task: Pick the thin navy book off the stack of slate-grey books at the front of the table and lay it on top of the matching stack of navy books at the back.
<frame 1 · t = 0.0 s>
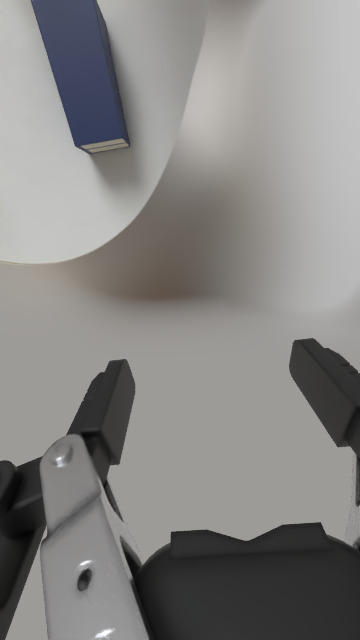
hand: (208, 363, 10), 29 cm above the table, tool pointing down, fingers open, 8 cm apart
navy stack: (95, 95, 26), on the table
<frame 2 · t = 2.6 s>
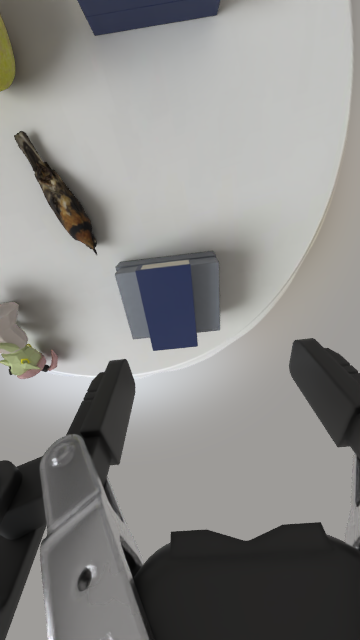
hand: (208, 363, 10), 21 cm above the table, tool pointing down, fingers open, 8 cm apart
bird model: (66, 200, 25), on the table
navy book: (170, 304, 27), point 5 cm above the table, touching grey stack
grey stack: (170, 290, 31), on the table
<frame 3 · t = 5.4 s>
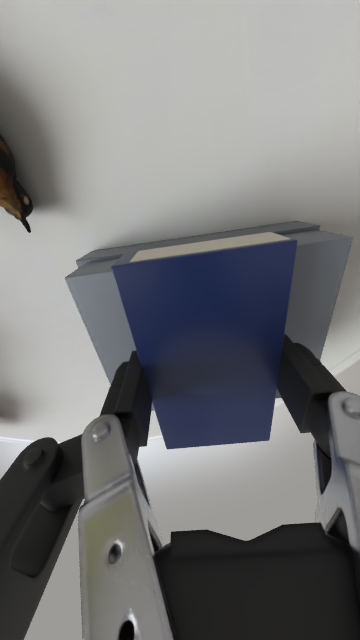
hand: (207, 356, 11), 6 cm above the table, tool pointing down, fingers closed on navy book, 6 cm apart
navy book: (206, 347, 11), point 5 cm above the table, touching grey stack, gripper
grey stack: (198, 306, 15), on the table
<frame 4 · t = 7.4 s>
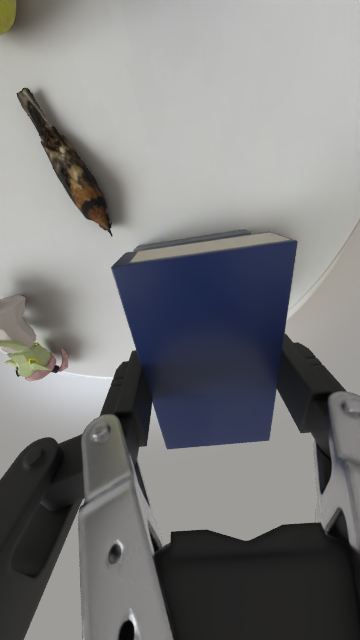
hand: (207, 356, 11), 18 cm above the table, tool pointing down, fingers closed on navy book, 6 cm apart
bird model: (77, 173, 22), on the table
navy book: (206, 347, 11), point 17 cm above the table, touching gripper
grey stack: (194, 277, 27), on the table
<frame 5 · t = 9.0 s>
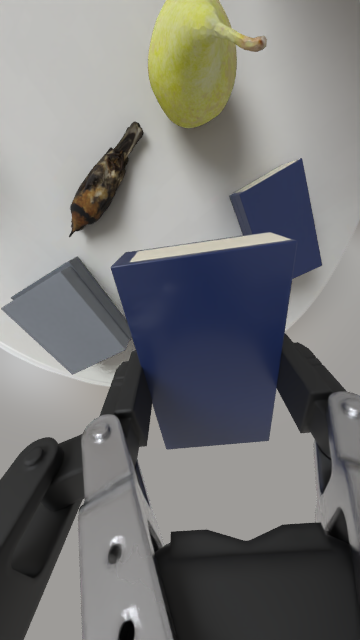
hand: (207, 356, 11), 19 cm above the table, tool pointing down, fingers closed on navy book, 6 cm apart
bird model: (105, 185, 23), on the table
navy book: (205, 347, 11), point 19 cm above the table, touching gripper
grey stack: (81, 311, 31), on the table
navy stack: (268, 228, 25), on the table
fruit: (192, 93, 20), on the table
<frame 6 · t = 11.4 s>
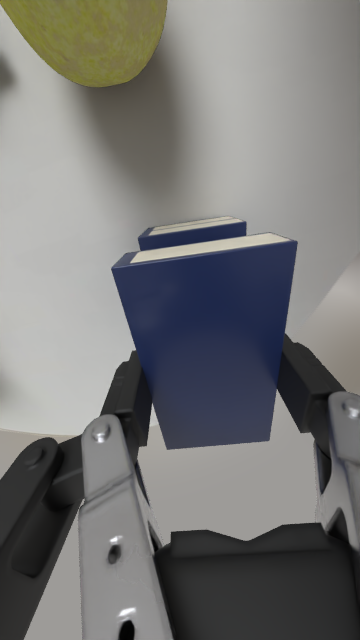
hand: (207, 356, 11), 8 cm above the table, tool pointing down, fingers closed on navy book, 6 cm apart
navy book: (206, 348, 11), point 8 cm above the table, touching gripper
navy stack: (195, 291, 18), on the table
fruit: (108, 28, 11), on the table
when the fingers open (5 cm above the table, at t = 13.0 s): navy book stays where it is, resting on navy stack.
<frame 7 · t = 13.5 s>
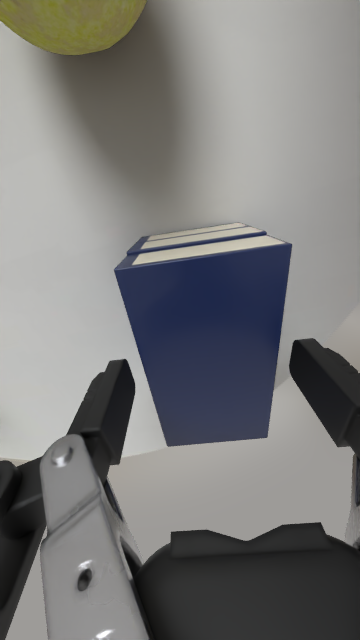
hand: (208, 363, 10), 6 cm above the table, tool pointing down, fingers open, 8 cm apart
navy book: (205, 347, 11), point 4 cm above the table, touching navy stack
navy stack: (198, 309, 15), on the table
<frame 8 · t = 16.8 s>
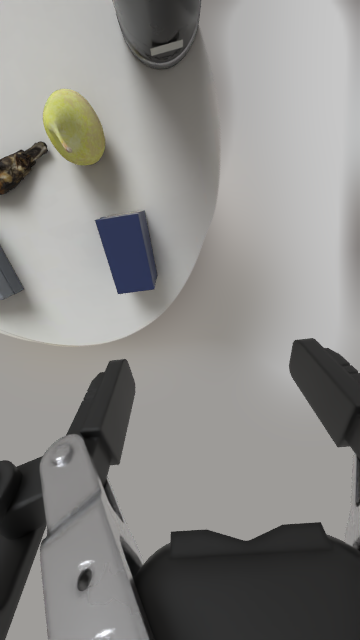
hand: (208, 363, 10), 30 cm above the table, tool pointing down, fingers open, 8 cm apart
bird model: (15, 172, 31), on the table
navy book: (130, 254, 32), point 4 cm above the table, touching navy stack
navy stack: (134, 248, 36), on the table
fruit: (88, 141, 29), on the table
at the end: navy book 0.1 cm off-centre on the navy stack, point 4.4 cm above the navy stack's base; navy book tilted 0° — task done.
